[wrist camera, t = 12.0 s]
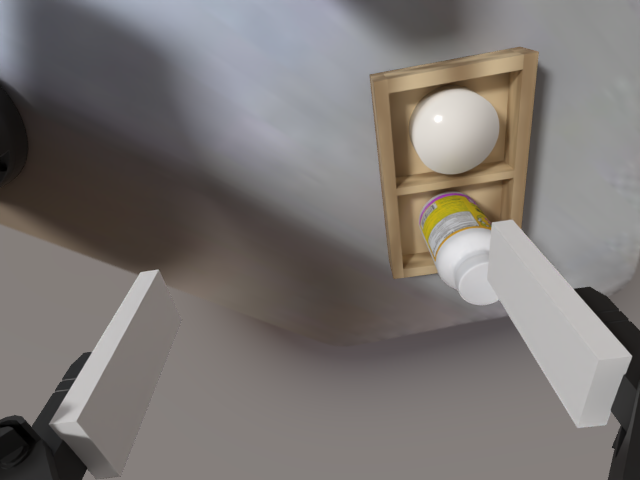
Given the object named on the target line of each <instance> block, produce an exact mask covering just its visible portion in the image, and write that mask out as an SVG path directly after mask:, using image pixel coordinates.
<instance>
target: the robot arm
mask: <svg viewBox="0 0 640 480" xmlns="http://www.w3.org/2000/svg"><path fill="white" fill-rule="evenodd" d="M27 148H28V145H27V136H26V132H25V128H24V125H23V122H22V119H21V117H20V115H19V113H18V111H17V109H16V107H15V106H14V104H13V102H12V101H11V99H10V98H9V96H8V95H7V94H6V93H5V91H4V90H3V89H2V88H1V86H0V187H2V186H3V185H5V184H7V183H9V182H10V181H12V180H13V179H14V178H15V177H16V176H17V175H18V174H19V173H20V172H21V170H22V168H23V166H24V164H25V161H26V157H27ZM487 280H488V282H489V283H490V285H491V287H492V288H493V290H494V292H495V293H496V295H497V297H498V298H499V300H500V302H501V303H502V305H503V306H504V308H505V310H506V311H507V313H508V315H509V316H510V318H511V319H512V321H513V323H514V325H515V326H516V328H517V330H518V331H519V333H520V334H521V336H522V338H523V339H524V341H525V343H526V344H527V346H528V347H529V349H530V351H531V352H532V354H533V356H534V357H535V359H536V361H537V362H538V364H539V366H540V367H541V369H542V371H543V372H544V374H545V376H546V377H547V379H548V381H549V382H550V384H551V385H552V387H553V389H554V390H555V392H556V394H557V395H558V397H559V399H560V400H561V402H562V403H563V405H564V407H565V409H566V410H567V412H568V413H569V415H570V417H571V418H572V420H573V422H574V423H575V425H576V427H577V428H584V427H593V426H603V425H607V422H608V419H609V417H610V414H611V412H612V413H613V414H614V416H615V417H616V419H617V420H618V421H619V423H620V424H621V427H620V429H619V431H618V434H617V437H616V439H615V441H614V444H613V446H612V448H614V449H615V450H614V454H613V459H612V463H611V468H610V473H609V477H608V480H640V331H639V329H638V328H637V327H636V326H635V325H634V324H633V323H632V322H629V321H628V318H627V317H626V316H625V315H624V314H623V313H622V312H621V311H619V309H618V308H617V307H616V306H615V305H614V304H613V303H612V302H611V300H610V299H609V298H608V297H607V296H605V295H603V294H601V293H600V292H598V291H596V290H594V289H593V288H591V287H584V288H577V289H573V288H572V287H571V286H570V285H569V283H568V282H567V281H566V280H565V279H564V278H563V277H562V275H561V274H560V273H559V272H558V271H557V270H556V269H555V267H554V266H553V265H552V264H551V263H550V262H549V261H548V259H547V258H546V257H545V256H544V255H543V254H542V253H541V251H540V250H539V249H538V248H537V247H536V246H535V245H534V243H533V242H532V241H531V240H530V239H529V238H528V237H527V235H526V234H525V233H524V232H523V231H522V230H521V229H520V227H519V226H518V225H517V224H516V223H515V222H514V221H513V220H506V221H499V222H492V227H491V239H490V251H489V263H488V275H487ZM181 321H182V319H181V317H180V314H179V312H178V310H177V308H176V306H175V303H174V301H173V299H172V297H171V295H170V293H169V291H168V288H167V286H166V284H165V282H164V279H163V277H162V275H161V273H160V271H159V270H152V271H145V272H140V274H139V276H138V277H137V279H136V281H135V282H134V284H133V286H132V287H131V289H130V291H129V292H128V294H127V295H126V297H125V299H124V300H123V302H122V304H121V305H120V307H119V309H118V310H117V312H116V314H115V315H114V317H113V319H112V320H111V322H110V324H109V326H108V327H107V329H106V330H105V332H104V334H103V335H102V337H101V339H100V340H99V342H98V343H97V345H96V347H95V349H94V350H93V352H87V353H83V355H81V356H80V357H79V358H78V359H77V360H76V361H75V362H74V363H73V364H72V365H71V366H70V368H69V369H68V371H67V372H66V374H65V375H64V377H63V379H62V382H60V383H59V385H58V386H57V388H56V390H55V393H53V394H52V396H51V397H50V399H49V400H48V402H47V404H46V405H45V407H44V408H43V410H42V411H41V413H40V415H39V416H38V418H37V419H36V421H35V422H34V424H33V425H32V427H31V426H30V425H29V424H28V423H27V421H26V420H24V418H23V417H21V416H16V415H14V416H10V417H5V418H3V419H1V420H0V480H82V478H83V476H84V474H85V472H86V470H87V469H88V471H90V473H91V474H92V475H93V476H94V477H95V479H104V478H113V477H121V475H122V472H123V470H124V467H125V464H126V462H127V459H128V457H129V454H130V452H131V449H132V447H133V444H134V441H135V439H136V436H137V434H138V431H139V429H140V426H141V423H142V421H143V418H144V416H145V413H146V411H147V408H148V406H149V403H150V401H151V398H152V395H153V393H154V390H155V387H156V385H157V383H158V380H159V378H160V375H161V372H162V370H163V367H164V365H165V362H166V359H167V357H168V355H169V352H170V349H171V346H172V344H173V341H174V339H175V337H176V334H177V332H178V329H179V326H180V324H181Z"/></svg>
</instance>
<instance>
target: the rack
mask: <svg viewBox="0 0 640 480" xmlns="http://www.w3.org/2000/svg"><path fill="white" fill-rule="evenodd" d="M538 54H539V52H538V51H534V50H530V49H526V48H523V47H516V48H511V49H505V50H500V51H495V52H489V53H484V54H478V55H473V56H468V57H462V58H457V59H451V60H446V61H441V62H435V63H430V64H424V65H419V66H413V67H408V68H403V69H397V70H392V71H386V72H381V73H376V74H370V83H371V92H372V102H373V111H374V121H375V131H376V140H377V150H378V159H379V169H380V178H381V188H382V198H383V207H384V217H385V226H386V236H387V245H388V255H389V262H390V266H391V270H392V275H393V279H397V278H405V277H412V276H420V275H427V274H435V273H438V271H437V268H436V266H435V264H434V261H433V259H432V256H431V254H430V252H429V249H428V247H427V245H426V242H425V240H424V238H423V235H422V233H421V230H420V228H419V215H420V212H421V210H422V208H423V206H424V205H425V204H426V203H427V202H428V201H429V200H430V199H431V198H433V197H434V196H436V195H438V194H440V193H443V192H448V191H457V192H461V193H464V194H466V195H468V196H470V197H471V198H472V199H473V200H474V201H475V202H476V204H477V205H478V206H479V208H480V209H481V210H482V211H483V213H484V214H485V215H486V217H487V218H488V220H489V221H490V222H491V224H492V222H499V221H506V220H513V221H514V222H515V223H516V224H517V225H518V226H519V227H520V229H521V225H522V215H523V205H524V195H525V185H526V175H527V165H528V155H529V145H530V135H531V125H532V115H533V105H534V94H535V84H536V74H537V64H538ZM447 85H460V86H464V87H467V88H469V89H471V90H472V91H474V92H476V93H477V94H479V95H480V96H482V97H483V98H485V99H486V100H487V101H489V102H490V103H491V104H492V106H493V107H494V109H495V110H496V112H497V115H498V118H499V135H498V139H497V142H496V144H495V146H494V148H493V150H492V151H491V153H490V154H489V155H488V157H487V158H486V159H485V160H484V161H483V162H482V163H480V164H479V165H478V166H476V167H474V168H473V169H471V170H468V171H466V172H463V173H459V174H442V173H438V172H435V171H433V170H431V169H430V168H428V167H427V166H426V165H425V164H424V163H423V162H422V160H421V159H420V157H419V156H418V154H417V152H416V150H415V149H414V147H413V145H412V143H411V141H410V137H409V121H410V117H411V115H412V112H413V110H414V108H415V107H416V105H417V104H418V102H419V101H420V100H421V99H422V98H423V97H424V96H425V95H427V94H428V93H429V92H431V91H433V90H435V89H437V88H439V87H442V86H447Z"/></svg>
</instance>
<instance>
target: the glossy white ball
mask: <svg viewBox="0 0 640 480" xmlns="http://www.w3.org/2000/svg"><path fill="white" fill-rule="evenodd" d="M498 135H499V118H498V115H497V112H496V110H495V109H494V107H493V106H492V104H491V103H490V102H489V101H487V100H486V99H485V98H483V97H482V96H480V95H479V94H477V93H476V92H474V91H472V90H471V89H469V88H467V87H464V86H460V85H447V86H442V87H439V88H437V89H435V90H433V91H431V92H429V93H428V94H427V95H425V96H424V97H423V98H422V99H421V100H420V101H419V102H418V104H417V105H416V107H415V108H414V110H413V112H412V115H411V117H410V121H409V137H410V141H411V143H412V145H413V147H414V149H415V150H416V152H417V154H418V156H419V157H420V159H421V160H422V162H423V163H424V164H425V165H426V166H427V167H428V168H430V169H431V170H433V171H435V172H438V173H442V174H459V173H463V172H466V171H468V170H471V169H473V168H474V167H476V166H478V165H479V164H480V163H482V162H483V161H484V160H485V159H486V158H487V157H488V155H489V154H490V153H491V151H492V150H493V148H494V146H495V144H496V142H497V139H498Z"/></svg>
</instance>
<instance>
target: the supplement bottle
mask: <svg viewBox="0 0 640 480" xmlns="http://www.w3.org/2000/svg"><path fill="white" fill-rule="evenodd" d="M491 227H492V224H491V222H490V221H489V220H488V218H487V217H486V215H485V214H484V213H483V211H482V210H481V209H480V208H479V206H478V205H477V204H476V202H475V201H474V200H473V199H472V198H471V197H470V196H468V195H466V194H464V193H461V192H457V191H448V192H443V193H440V194H438V195H436V196H434V197H433V198H431V199H430V200H429V201H428V202H427V203H426V204H425V205H424V206H423V208H422V210H421V212H420V215H419V228H420V230H421V233H422V235H423V238H424V240H425V242H426V245H427V247H428V249H429V252H430V254H431V256H432V259H433V261H434V264H435V266H436V268H437V271H438V274H439V276H440V277H441V279H442V280H443V281H444V282H445V283H446V284H447V285H448V286H450V287H452V288H454V289H456V290H458V292H459V294H460V295H461V297H462V298H463V299H464V300H465V301H467V302H468V303H471V304H474V305H488V304H491V303H494V302H496V301H498V300H499V298H498V297H497V295H496V293H495V292H494V290H493V288H492V287H491V285H490V283H489V282H488V280H487V275H488V263H489V251H490V239H491Z"/></svg>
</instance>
